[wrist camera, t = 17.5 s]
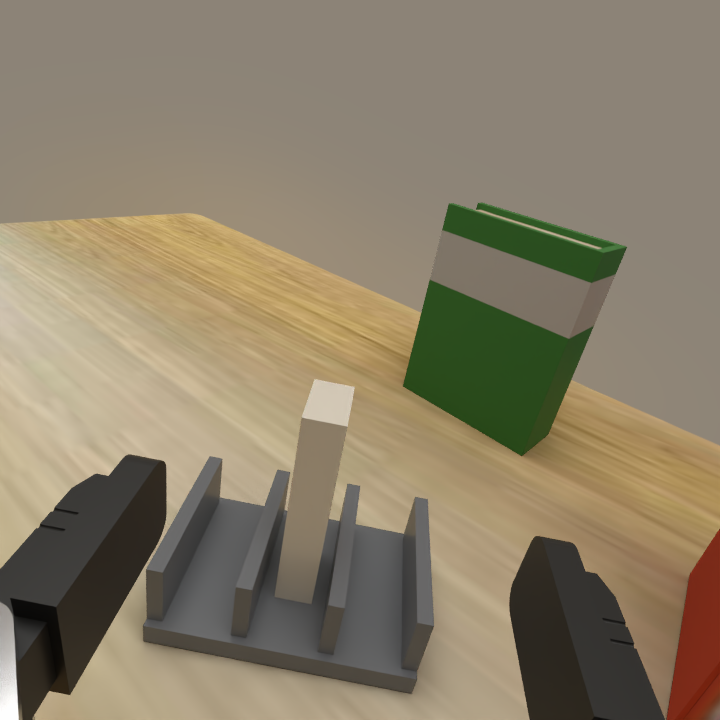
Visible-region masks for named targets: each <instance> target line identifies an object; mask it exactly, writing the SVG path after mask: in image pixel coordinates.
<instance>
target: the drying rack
mask: <svg viewBox="0 0 720 720" xmlns="http://www.w3.org/2000/svg"><path fill="white" fill-rule="evenodd" d="M221 471H222V459H221V458H216V457H211V456H210V457H209V459H208V461H207V462H206V464H205V466H204V468H203V469H202V471H201V473H200V475H199V476H198V478H197V480H196V482H195V484H194V485H193V487H192V489H191V491H190V492H189V494H188V496H187V498H186V500H185V501H184V503H183V505H182V507H181V508H180V510H179V512H178V514H177V516H176V517H175V519H174V521H173V523H172V524H171V526H170V528H169V530H168V532H167V533H166V535H165V537H164V539H163V540H162V542H161V544H160V546H159V548H158V549H157V551H156V553H155V555H154V556H153V558H152V560H151V562H150V564H149V565H148V567H147V569H146V592H147V619H146V621H145V623H144V625H143V640H144V641H146V642H151V643H156V644H161V645H166V646H172V647H177V648H182V649H187V650H192V651H197V652H202V653H207V654H212V655H217V656H223V657H228V658H233V659H238V660H243V661H248V662H253V663H258V664H263V665H269V666H274V667H279V668H284V669H289V670H294V671H299V672H304V673H309V674H314V675H320V676H325V677H330V678H335V679H340V680H345V681H350V682H355V683H360V684H366V685H371V686H376V687H381V688H386V689H391V690H396V691H401V692H406V693H411V694H412V691H413V688H414V686H415V683H416V680H417V670H418V667H419V664H420V662H421V659H422V656H423V654H424V651H425V648H426V646H427V643H428V640H429V638H430V635H431V632H432V630H433V627H434V618H433V598H432V578H431V557H430V537H429V517H428V499H423V498H418V497H415V499H414V503H413V506H412V509H411V513H410V516H409V519H408V523H407V526H406V529H405V533H404V534H402V533H397V532H392V531H386V530H381V529H376V528H371V527H366V526H361V525H356V524H355V523H356V515H357V507H358V499H359V491H360V486H357V485H352V484H347V489H346V494H345V498H344V503H343V507H342V512H341V517H340V521H336V520H331V519H329V520H328V525H327V530H326V535H325V539H324V544H323V549H322V554H321V559H320V564H319V569H318V574H317V579H316V584H315V589H314V594H313V599H312V603H311V604H308V603H302V602H297V601H292V600H287V599H282V598H277V597H274V596H275V589H276V583H277V576H278V570H279V563H280V557H281V550H282V544H283V537H284V531H285V524H286V517H287V511H285V503H286V496H287V489H288V483H289V476H290V472H286V471H281V470H277V473H276V475H275V478H274V481H273V484H272V487H271V489H270V492H269V495H268V498H267V501H266V503H265V506H260V505H255V504H250V503H245V502H240V501H235V500H230V499H224V498H220V485H221Z"/></svg>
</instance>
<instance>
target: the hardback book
mask: <svg viewBox="0 0 720 720" xmlns="http://www.w3.org/2000/svg"><path fill="white" fill-rule="evenodd" d="M626 248H627V247H626V246H622V245H619V244H616V243H613V242H609V241H606V240H603V239H599V238H596V237H593V236H589V235H586V234H583V233H579V232H576V231H573V230H570V229H567V228H563V227H560V226H557V225H554V224H550V223H547V222H543V221H540V220H537V219H534V218H531V217H527V216H524V215H521V214H517V213H514V212H511V211H508V210H504V209H501V208H497V207H494V206H491V205H488V204H485V203H478V205H477V208H476V210H473V209H469V208H466V207H463V206H460V205H457V204H452V203H451V204H449V205H448V209H447V213H446V217H445V221H444V225H443V229H442V234H441V237H440V241H439V245H438V249H437V253H436V257H435V261H434V266H433V269H432V273H431V277H430V281H429V285H428V289H427V293H426V297H425V301H424V305H423V309H422V313H421V317H420V321H419V325H418V329H417V333H416V336H415V340H414V344H413V348H412V352H411V356H410V360H409V364H408V368H407V372H406V376H405V380H404V384H403V387H405V388H407V389H408V390H410V391H412V392H414V393H415V394H417V395H419V396H420V397H422V398H424V399H426V400H427V401H429V402H431V403H432V404H434V405H436V406H437V407H439V408H441V409H443V410H444V411H446V412H448V413H449V414H451V415H453V416H454V417H456V418H458V419H460V420H461V421H463V422H465V423H466V424H468V425H470V426H471V427H473V428H475V429H477V430H478V431H480V432H482V433H483V434H485V435H487V436H489V437H490V438H492V439H494V440H495V441H497V442H499V443H500V444H502V445H504V446H506V447H507V448H509V449H511V450H512V451H514V452H516V453H517V454H519V455H521V456H522V455H524V454H525V453H526V452H527V451H529V450H530V449H531V448H532V447H533V446H535V445H536V444H537V443H538V442H540V441H541V440H542V439H543V438H544V437H546V436H547V435H548V434H549V431H550V429H551V426H552V424H553V422H554V419H555V417H556V415H557V412H558V410H559V407H560V405H561V403H562V400H563V398H564V396H565V393H566V391H567V388H568V386H569V384H570V381H571V379H572V377H573V374H574V372H575V369H576V367H577V365H578V362H579V360H580V357H581V355H582V353H583V350H584V348H585V346H586V343H587V341H588V339H589V336H590V334H591V331H592V329H593V326H594V324H595V322H596V319H597V317H598V315H599V312H600V310H601V307H602V305H603V303H604V300H605V298H606V296H607V293H608V291H609V288H610V286H611V284H612V281H613V279H614V277H615V274H616V272H617V270H618V267H619V265H620V263H621V260H622V258H623V255H624V253H625V251H626Z"/></svg>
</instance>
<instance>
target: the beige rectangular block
mask: <svg viewBox="0 0 720 720" xmlns="http://www.w3.org/2000/svg"><path fill="white" fill-rule="evenodd" d="M354 388H355V387H351V386H346V385H341V384H336V383H331V382H326V381H321V380H316V379H315V380H314V383H313V386H312V389H311V392H310V395H309V398H308V401H307V404H306V406H305V409H304V412H303V415H302V419H301V426H300V432H299V439H298V446H297V452H296V459H295V465H294V472H293V478H292V485H291V491H290V498H289V504H288V511H287V517H286V524H285V531H284V537H283V544H282V550H281V557H280V563H279V570H278V576H277V583H276V589H275V596H274V597H277V598H282V599H287V600H292V601H297V602H302V603H308V604H311V603H312V599H313V594H314V589H315V584H316V579H317V574H318V569H319V564H320V559H321V554H322V549H323V544H324V539H325V535H326V530H327V525H328V520H329V515H330V510H331V505H332V500H333V495H334V490H335V485H336V480H337V475H338V471H339V466H340V461H341V456H342V451H343V446H344V441H345V436H346V431H347V426H348V421H349V415H350V410H351V405H352V399H353V394H354Z"/></svg>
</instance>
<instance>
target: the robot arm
mask: <svg viewBox="0 0 720 720" xmlns="http://www.w3.org/2000/svg"><path fill="white" fill-rule="evenodd" d="M165 521H166V464H165V462H164V461H161V460H156V459H151V458H146V457H140V456H135V455H126V456H125V457H124V458H123V459H122V460H121V461H120V463H119V464H118V465H117V466H116V468H115V469H114V470H113V471H112V473H111V474H110V475H109V476H106V475H100V474H94V475H93V476H91V477H89V478H88V479H86V480H85V481H83V482H81V483H80V484H78V485H76V486H75V487H73V488H71V489H70V491H69V492H68V493H67V494H66V495H65V496H64V497H63V499H62V500H61V501H60V502H59V503H58V504H57V505H56V507H55V508H54V511H53V512H50V513H49V514H48V516H47V517H46V518H45V519H44V520H43V521H42V522H41V524H40V527H39V528H36V529H35V530H34V531H33V533H32V534H31V535H30V536H29V537H28V538H27V539H26V541H25V542H24V543H23V544H22V545H21V546H20V547H19V549H18V550H17V551H16V552H15V553H14V554H13V555H12V556H11V558H10V559H9V560H8V561H7V562H6V563H5V564H4V566H3V567H2V568H1V569H0V720H35V717H34V714H35V713H36V711H37V709H38V708H39V706H40V705H41V703H42V701H43V700H44V698H45V697H46V695H47V693H48V692H49V691H53V692H58V693H63V694H68V695H70V694H71V692H72V691H73V689H74V687H75V685H76V684H77V682H78V680H79V679H80V677H81V675H82V673H83V672H84V670H85V668H86V666H87V665H88V663H89V661H90V659H91V658H92V656H93V654H94V653H95V651H96V649H97V647H98V646H99V644H100V642H101V640H102V639H103V637H104V635H105V634H106V632H107V630H108V628H109V627H110V625H111V623H112V621H113V620H114V618H115V616H116V614H117V613H118V611H119V609H120V608H121V606H122V604H123V602H124V601H125V599H126V597H127V595H128V594H129V592H130V590H131V589H132V587H133V585H134V583H135V582H136V580H137V578H138V576H139V575H140V573H141V571H142V569H143V568H144V566H145V564H146V563H147V561H148V559H149V557H150V556H151V554H152V552H153V550H154V549H155V547H156V545H157V543H158V542H159V539H160V537H161V535H162V532H163V529H164V525H165ZM509 606H510V617H511V622H512V627H513V633H514V638H515V643H516V649H517V654H518V659H519V665H520V670H521V675H522V681H523V686H524V692H525V697H526V702H527V708H528V713H529V718H530V720H665V719H664V716H663V714H662V711H661V709H660V706H659V704H658V701H657V699H656V696H655V694H654V691H653V689H652V686H651V684H650V682H649V679H648V677H647V674H646V672H645V669H644V667H643V664H642V662H641V659H640V657H639V654H638V652H637V649H634V642H633V640H632V637H631V635H630V632H629V630H628V627H625V623H626V622H625V620H624V617H623V615H622V612H621V610H620V607H619V605H618V602H617V600H616V597H615V596H614V595H613V594H612V592H611V591H610V590H609V589H608V587H607V586H606V585H605V583H604V582H603V581H602V580H601V578H600V577H599V576H598V575H597V574H596V573H590V572H585V569H584V566H583V563H582V561H581V558H580V555H579V552H578V550H577V548H576V546H575V545H574V544H573V543H571V542H566V541H561V540H556V539H550V538H545V537H540V536H536V537H534V538H533V540H532V542H531V544H530V546H529V548H528V550H527V552H526V555H525V557H524V559H523V561H522V564H521V566H520V568H519V570H518V572H517V575H516V577H515V579H514V581H513V584H512V587H511V592H510V603H509Z"/></svg>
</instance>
